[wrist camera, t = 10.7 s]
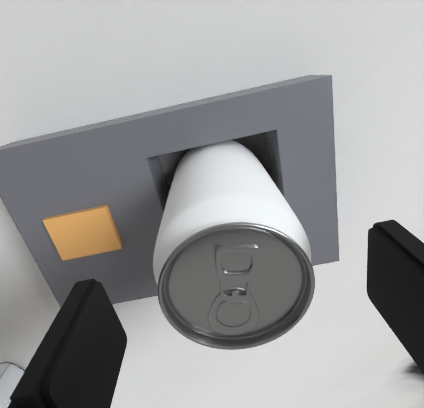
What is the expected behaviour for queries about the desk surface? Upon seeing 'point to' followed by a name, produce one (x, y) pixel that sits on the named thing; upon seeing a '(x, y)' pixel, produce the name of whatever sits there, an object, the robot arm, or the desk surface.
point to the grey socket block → (161, 181)
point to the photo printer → (8, 382)
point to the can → (230, 252)
